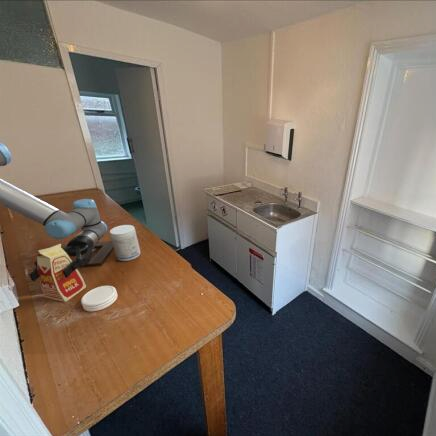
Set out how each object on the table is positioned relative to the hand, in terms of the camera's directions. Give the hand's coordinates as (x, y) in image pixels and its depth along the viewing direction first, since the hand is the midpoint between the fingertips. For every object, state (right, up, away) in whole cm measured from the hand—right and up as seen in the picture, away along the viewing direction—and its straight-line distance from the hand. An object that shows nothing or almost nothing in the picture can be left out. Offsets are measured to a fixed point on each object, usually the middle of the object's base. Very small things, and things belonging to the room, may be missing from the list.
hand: (48, 276), depth 79 cm
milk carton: (-2, -8, +9) cm, 12 cm away
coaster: (+14, -11, +6) cm, 18 cm away
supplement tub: (+6, +1, +32) cm, 32 cm away
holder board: (-15, +2, +30) cm, 33 cm away
